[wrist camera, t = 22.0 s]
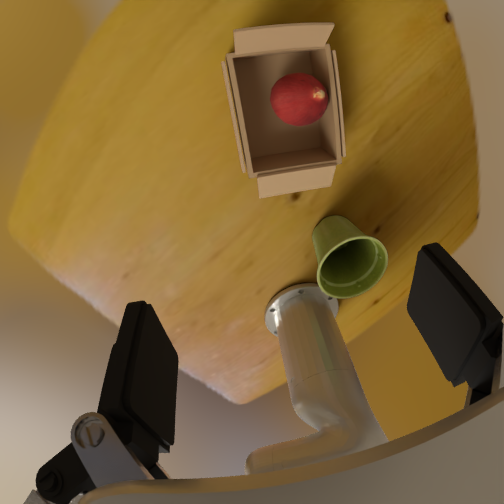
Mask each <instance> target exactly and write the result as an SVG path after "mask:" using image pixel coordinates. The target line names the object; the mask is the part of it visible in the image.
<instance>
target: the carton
mask: <svg viewBox="0 0 504 504" xmlns="http://www.w3.org/2000/svg"><path fill="white" fill-rule="evenodd" d="M225 60H226V65H227V70H228V75H229V81H230V86H231V91H232V97H233V102H234V107H235V112H236V118H237V123H238V128H239V134H240V139H241V145H242V150H243V155H244V161H245V165H246V169H247V172H248V176H249V178H254V177H257V175H263V174H268V173H274V172H280V171H286V170H292V169H299V168H305V167H312V166H319V165H326V164H333V163H335V164H336V165H337V164H342V159H341V156H342V157H346V151H345V135H344V122H343V110H342V100H341V90H340V81H339V73H338V65H337V58H336V51H335V50H332V51H331V50H330V44H325V46H324V47H303V48H289V49H278V50H268V51H260V52H252V53H245V54H239V55H235V52H234V53H228V54H226V56H225ZM221 64H222V69H223V75H224V80H225V85H226V90H227V95H228V100H229V106H230V111H231V116H232V121H233V127H234V132H235V137H236V142H237V148H238V153H239V158H240V163H241V168H242V172H243V173H244V172H245V166H244V161H243V155H242V150H241V145H240V139H239V134H238V129H237V123H236V118H235V113H234V107H233V102H232V97H231V92H230V86H229V81H228V76H227V71H226V65H225V61H223V62H221ZM291 73H305V74H308V75H311V76H313V77H315V78H316V79H317V80H318V81H319V82H321V83H322V85H323V86H324V87H325V89H326V91H327V94H328V106H327V109H326V111H325V113H324V114H323V116H322V117H321V118H320V119H319V120H317V121H315V122H314V123H312V124H309V125H305V126H294V125H290V124H287V123H284V122H283V121H282V120H281V119H280V118H279V117H277V115H276V114H275V112H274V110H273V109H272V106H271V102H270V95H271V89H272V87H273V86H274V84H275V83H276V81H277V80H279V79H280V78H282V77H283V76H285V75H287V74H291Z"/></svg>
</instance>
